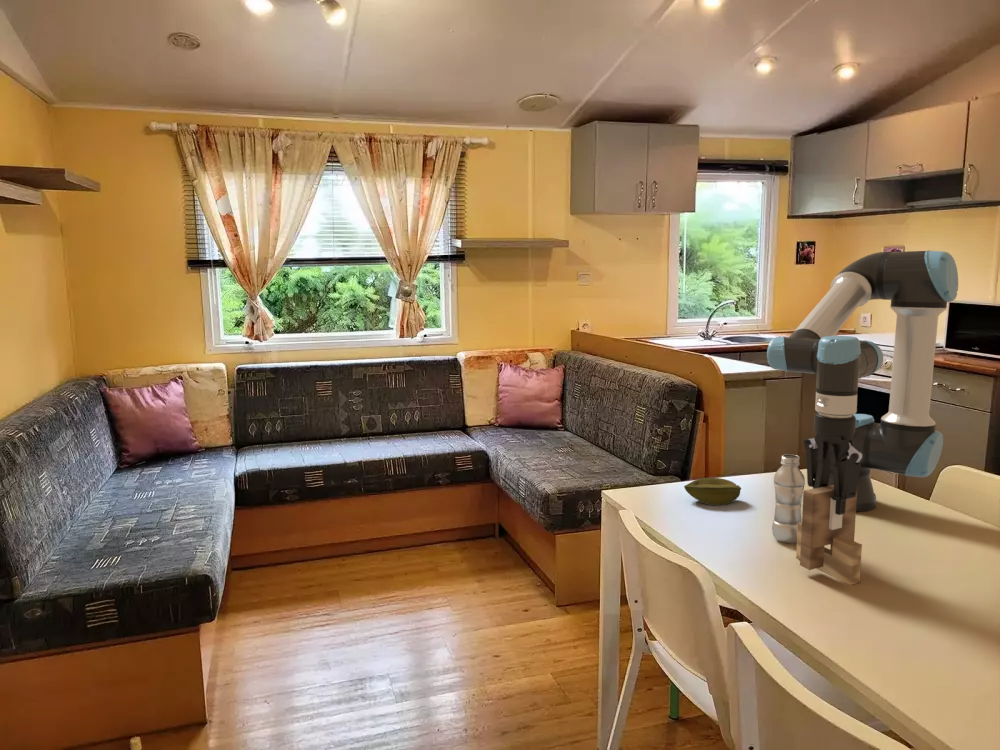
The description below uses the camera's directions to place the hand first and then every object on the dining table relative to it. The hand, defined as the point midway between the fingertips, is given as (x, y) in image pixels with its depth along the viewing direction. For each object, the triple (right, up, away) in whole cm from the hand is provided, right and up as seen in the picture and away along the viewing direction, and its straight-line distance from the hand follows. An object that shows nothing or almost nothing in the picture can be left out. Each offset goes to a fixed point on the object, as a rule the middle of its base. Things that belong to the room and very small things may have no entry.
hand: (828, 525), depth 145 cm
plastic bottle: (-2, -7, +17) cm, 18 cm away
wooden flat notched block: (0, -8, +1) cm, 8 cm away
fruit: (-11, -3, +44) cm, 45 cm away
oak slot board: (0, -10, +2) cm, 10 cm away
